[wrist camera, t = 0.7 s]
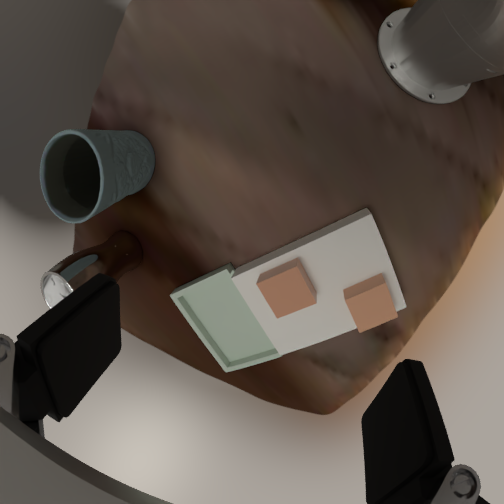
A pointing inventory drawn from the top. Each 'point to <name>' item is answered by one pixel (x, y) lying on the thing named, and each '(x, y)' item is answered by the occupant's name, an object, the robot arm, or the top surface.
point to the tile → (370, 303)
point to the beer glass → (91, 266)
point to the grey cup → (93, 170)
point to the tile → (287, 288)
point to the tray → (224, 320)
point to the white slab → (321, 280)
